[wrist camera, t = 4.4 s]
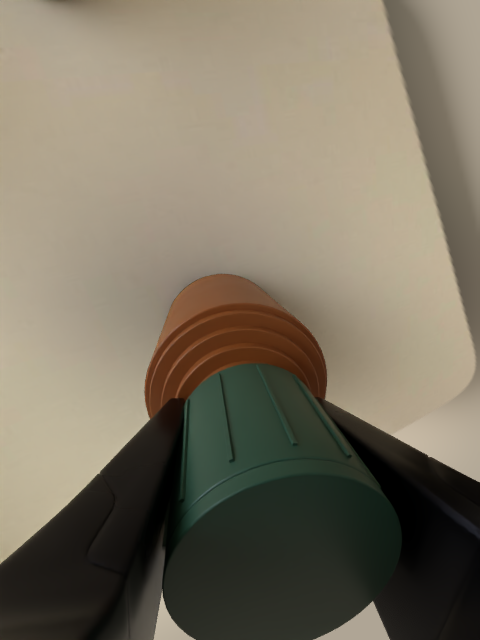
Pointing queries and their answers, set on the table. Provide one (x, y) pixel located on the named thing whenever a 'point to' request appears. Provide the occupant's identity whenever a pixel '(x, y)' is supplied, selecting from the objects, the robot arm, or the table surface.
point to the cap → (271, 514)
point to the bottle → (228, 339)
